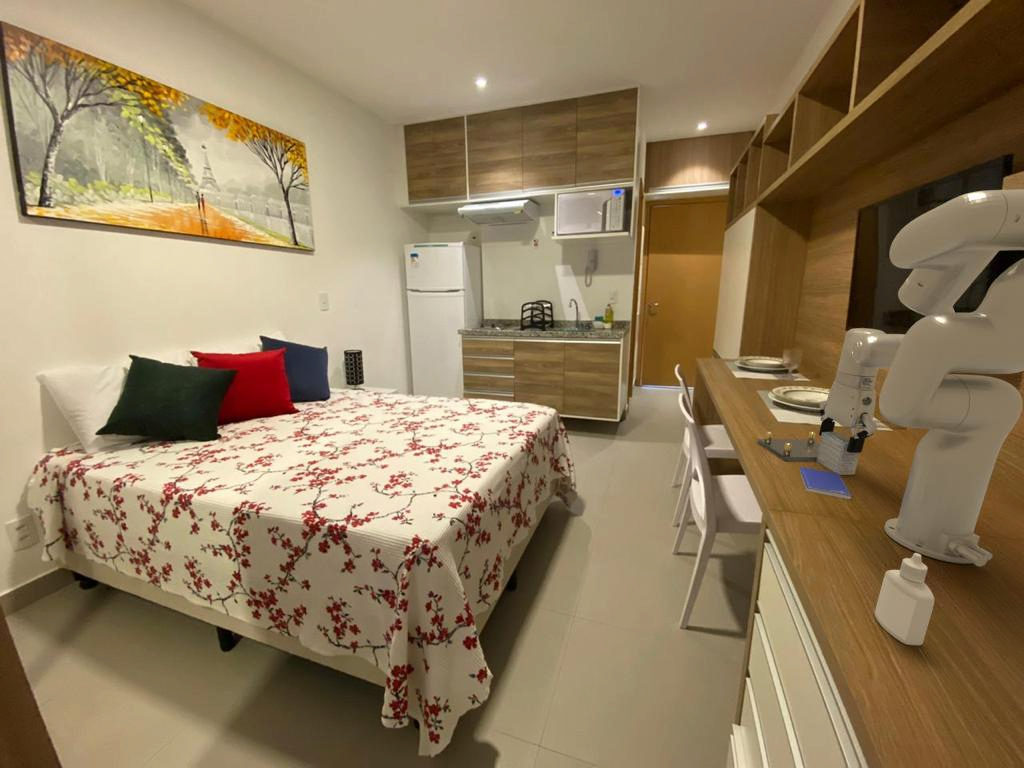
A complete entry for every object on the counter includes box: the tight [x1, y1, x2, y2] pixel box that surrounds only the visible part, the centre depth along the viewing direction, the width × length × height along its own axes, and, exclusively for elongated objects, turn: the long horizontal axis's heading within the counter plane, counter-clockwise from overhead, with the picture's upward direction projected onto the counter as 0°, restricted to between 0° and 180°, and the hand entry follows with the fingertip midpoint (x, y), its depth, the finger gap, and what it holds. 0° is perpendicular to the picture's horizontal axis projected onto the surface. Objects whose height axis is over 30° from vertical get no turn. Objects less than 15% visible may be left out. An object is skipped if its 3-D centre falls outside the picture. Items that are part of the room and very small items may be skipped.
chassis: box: [756, 430, 820, 462], centre depth 117 cm, size 13×16×4 cm
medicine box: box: [815, 431, 860, 476], centre depth 106 cm, size 8×4×9 cm, turn 179°
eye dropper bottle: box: [874, 552, 935, 646], centre depth 56 cm, size 4×6×12 cm
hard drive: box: [799, 466, 852, 500], centre depth 99 cm, size 2×8×12 cm
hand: (839, 443), depth 106 cm, fingers open, 9 cm apart
